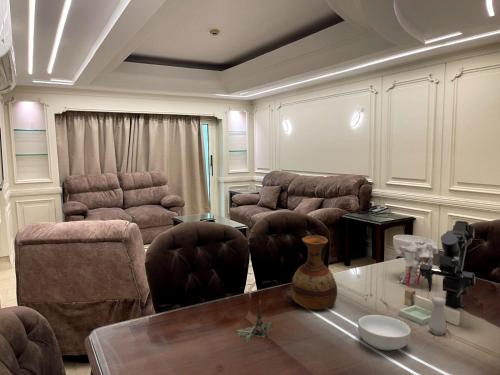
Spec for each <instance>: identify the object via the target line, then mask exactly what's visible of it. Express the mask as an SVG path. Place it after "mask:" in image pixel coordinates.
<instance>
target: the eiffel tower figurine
mask: <svg viewBox="0 0 500 375" xmlns="http://www.w3.org/2000/svg"><path fill="white" fill-rule="evenodd" d="M261 302H262V300H259V301H258V303H259V304H258V313H257V318H256V323H255V324H254V325H251V326H247V327H242V328H239V329H236V333H237V335H238V336H240V338H242V339H243V340H244V341H245V342H246V343H248V342H251V336H252V337H253V336H254V337H260V338H266V336H267V334H268V332H269V329H270V328H272V327H274V325H273V324H272V323H271V322H265V323H264V322H263V317H262V304H261Z"/></svg>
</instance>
